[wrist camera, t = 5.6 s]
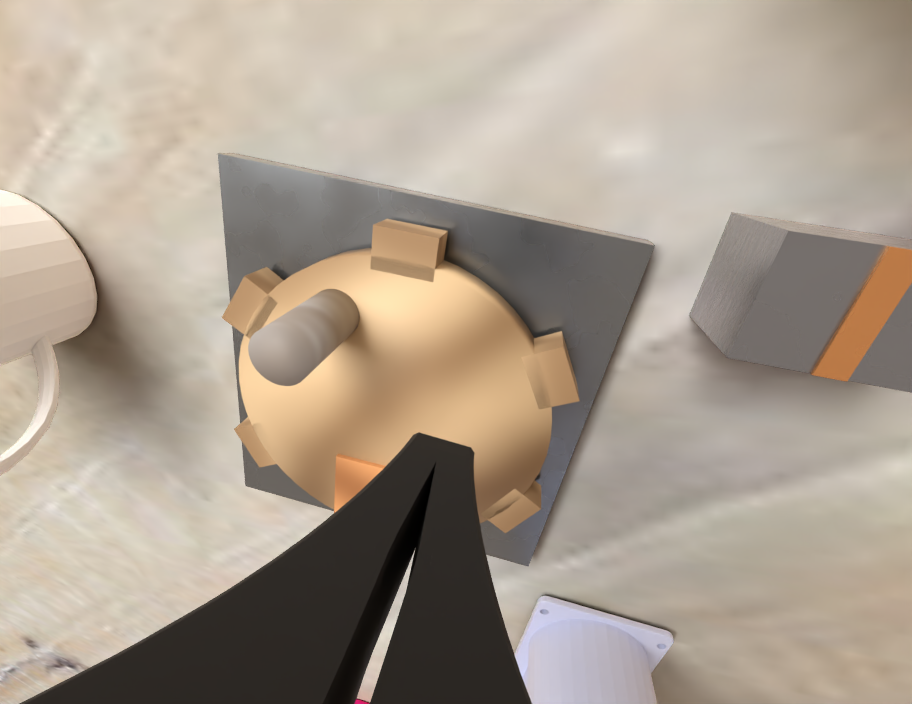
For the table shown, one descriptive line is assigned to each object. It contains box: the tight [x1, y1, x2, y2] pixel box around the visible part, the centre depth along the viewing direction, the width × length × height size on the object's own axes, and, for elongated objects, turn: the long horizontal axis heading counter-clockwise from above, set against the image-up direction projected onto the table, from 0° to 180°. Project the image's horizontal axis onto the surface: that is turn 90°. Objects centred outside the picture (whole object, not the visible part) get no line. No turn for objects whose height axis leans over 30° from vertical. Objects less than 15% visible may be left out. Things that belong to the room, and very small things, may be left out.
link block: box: [689, 212, 912, 392], centre depth 14 cm, size 6×4×4 cm, turn 83°
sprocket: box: [222, 219, 580, 533], centre depth 17 cm, size 16×15×6 cm
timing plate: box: [218, 153, 655, 566], centre depth 20 cm, size 18×17×1 cm
